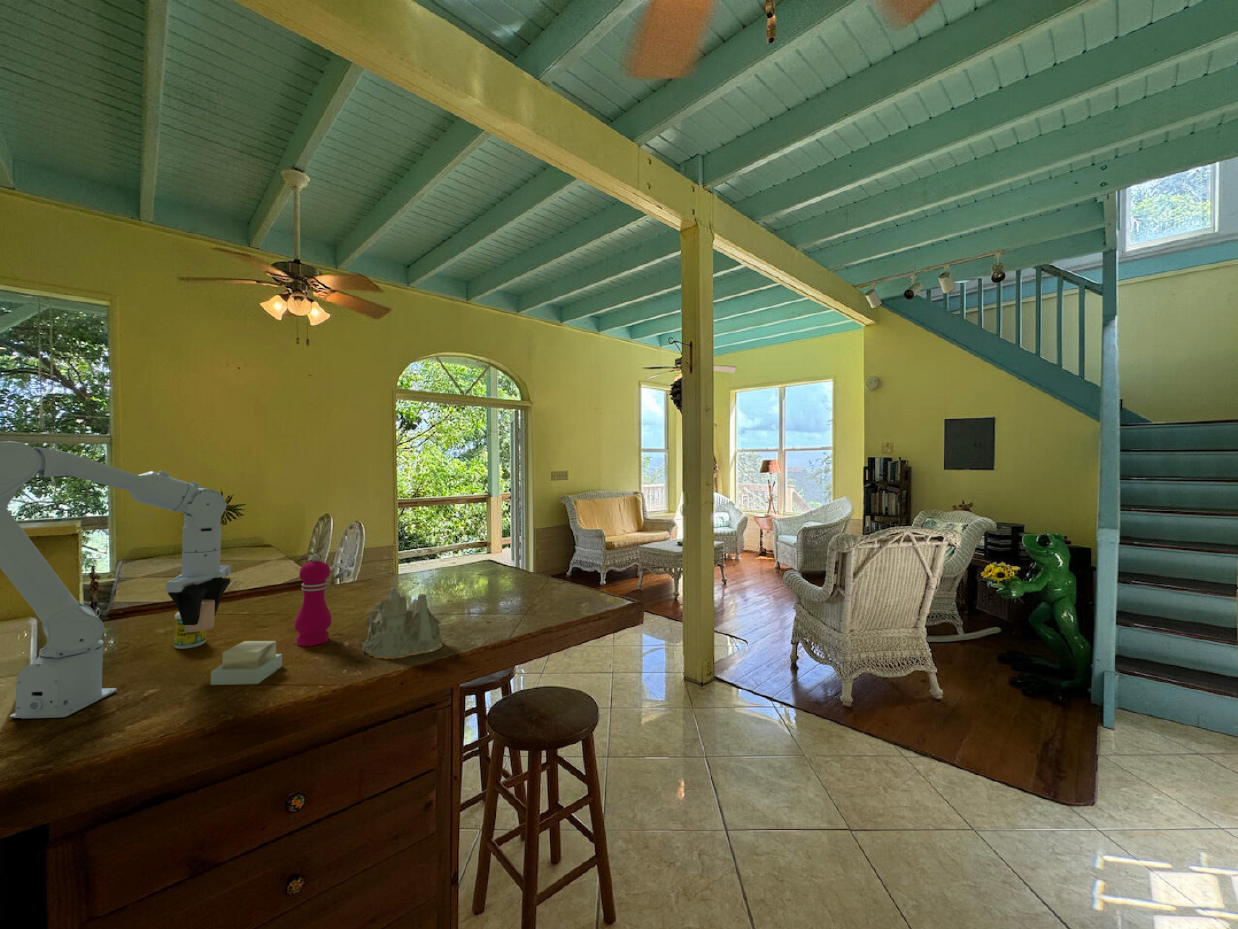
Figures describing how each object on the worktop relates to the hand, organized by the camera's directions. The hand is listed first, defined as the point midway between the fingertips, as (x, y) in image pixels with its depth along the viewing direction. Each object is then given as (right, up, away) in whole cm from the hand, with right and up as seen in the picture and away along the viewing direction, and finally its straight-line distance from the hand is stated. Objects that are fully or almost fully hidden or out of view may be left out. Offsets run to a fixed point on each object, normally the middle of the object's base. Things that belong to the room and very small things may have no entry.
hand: (199, 620), depth 97 cm
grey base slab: (+10, -11, -1) cm, 15 cm away
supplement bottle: (-14, -10, +14) cm, 22 cm away
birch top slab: (+10, -8, -1) cm, 13 cm away
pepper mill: (+11, -11, +18) cm, 23 cm away
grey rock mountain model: (+32, -11, +17) cm, 38 cm away
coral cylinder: (0, -2, 0) cm, 2 cm away
